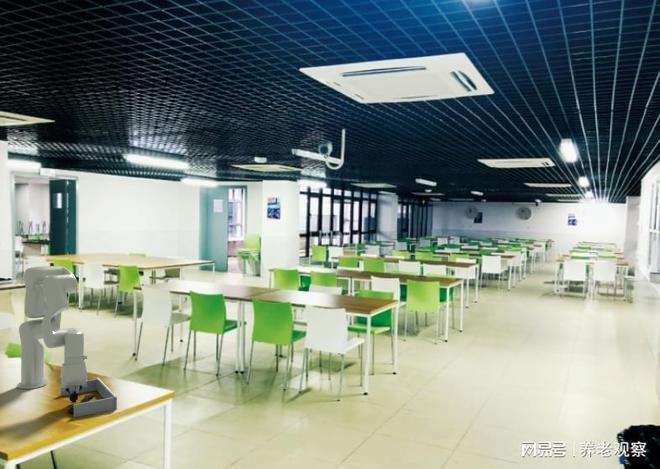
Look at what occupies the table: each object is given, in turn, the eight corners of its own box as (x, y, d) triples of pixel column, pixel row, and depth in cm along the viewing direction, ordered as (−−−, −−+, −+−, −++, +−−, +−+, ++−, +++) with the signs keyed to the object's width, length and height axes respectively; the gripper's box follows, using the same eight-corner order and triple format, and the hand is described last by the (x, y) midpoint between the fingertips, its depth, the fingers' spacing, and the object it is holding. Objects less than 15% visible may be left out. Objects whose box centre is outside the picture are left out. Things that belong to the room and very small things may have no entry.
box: (60, 395, 230) (60, 383, 230) (98, 389, 240) (98, 377, 239) (74, 417, 204) (74, 403, 204) (116, 409, 214) (116, 395, 214)
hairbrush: (101, 389, 231) (86, 405, 207) (101, 397, 231) (85, 414, 207) (81, 390, 230) (64, 407, 205) (81, 398, 230) (64, 416, 205)
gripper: (90, 355, 226) (90, 396, 226) (53, 360, 217) (52, 403, 217) (94, 359, 220) (94, 401, 220) (56, 364, 211) (55, 408, 211)
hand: (73, 402), depth 218 cm, fingers closed
